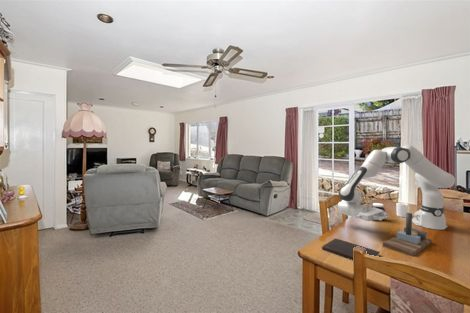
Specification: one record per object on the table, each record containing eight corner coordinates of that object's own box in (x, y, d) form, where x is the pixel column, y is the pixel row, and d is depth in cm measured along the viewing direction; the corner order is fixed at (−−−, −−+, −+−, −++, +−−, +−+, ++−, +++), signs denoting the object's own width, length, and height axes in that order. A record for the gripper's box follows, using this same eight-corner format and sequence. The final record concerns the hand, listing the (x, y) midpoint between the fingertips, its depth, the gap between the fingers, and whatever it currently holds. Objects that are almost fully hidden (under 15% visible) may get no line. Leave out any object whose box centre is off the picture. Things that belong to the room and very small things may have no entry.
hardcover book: (335, 242, 135) (335, 238, 135) (379, 256, 118) (379, 251, 118) (321, 250, 124) (322, 246, 124) (368, 267, 107) (368, 262, 107)
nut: (404, 236, 137) (405, 229, 137) (414, 237, 136) (414, 230, 136) (409, 239, 132) (410, 233, 132) (419, 240, 131) (419, 233, 131)
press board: (412, 256, 117) (413, 244, 116) (382, 246, 128) (383, 235, 128) (431, 242, 132) (431, 232, 132) (403, 235, 144) (403, 225, 144)
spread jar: (386, 219, 175) (386, 204, 174) (383, 223, 166) (384, 207, 166) (368, 216, 183) (368, 201, 182) (365, 219, 174) (365, 204, 173)
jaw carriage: (417, 244, 125) (418, 216, 125) (396, 238, 134) (397, 212, 133) (420, 242, 128) (421, 215, 127) (399, 236, 136) (400, 210, 135)
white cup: (409, 218, 178) (410, 205, 177) (397, 216, 180) (397, 204, 180) (405, 215, 185) (406, 202, 185) (394, 214, 188) (394, 202, 187)
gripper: (354, 210, 145) (377, 215, 134) (369, 205, 157) (392, 209, 146) (353, 219, 146) (377, 226, 134) (369, 214, 157) (392, 219, 146)
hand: (385, 217), depth 140 cm, fingers open, 8 cm apart
